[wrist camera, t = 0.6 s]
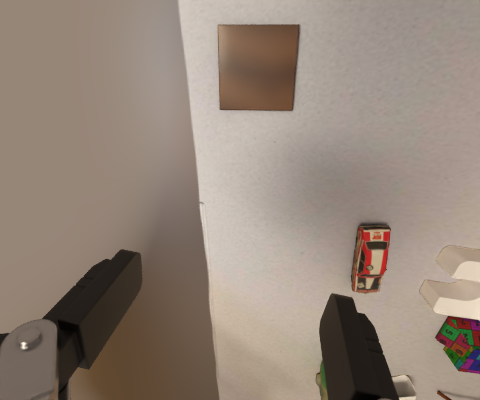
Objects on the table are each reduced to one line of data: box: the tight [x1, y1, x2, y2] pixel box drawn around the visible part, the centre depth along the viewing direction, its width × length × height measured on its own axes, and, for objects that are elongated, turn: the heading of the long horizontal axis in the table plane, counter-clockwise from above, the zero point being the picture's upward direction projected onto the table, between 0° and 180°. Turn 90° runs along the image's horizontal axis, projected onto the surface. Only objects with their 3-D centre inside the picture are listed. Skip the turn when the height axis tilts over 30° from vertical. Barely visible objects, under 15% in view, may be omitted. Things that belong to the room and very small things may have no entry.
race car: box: [351, 225, 391, 294], centre depth 40 cm, size 5×12×5 cm, turn 179°
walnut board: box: [218, 25, 299, 111], centre depth 32 cm, size 9×9×1 cm
